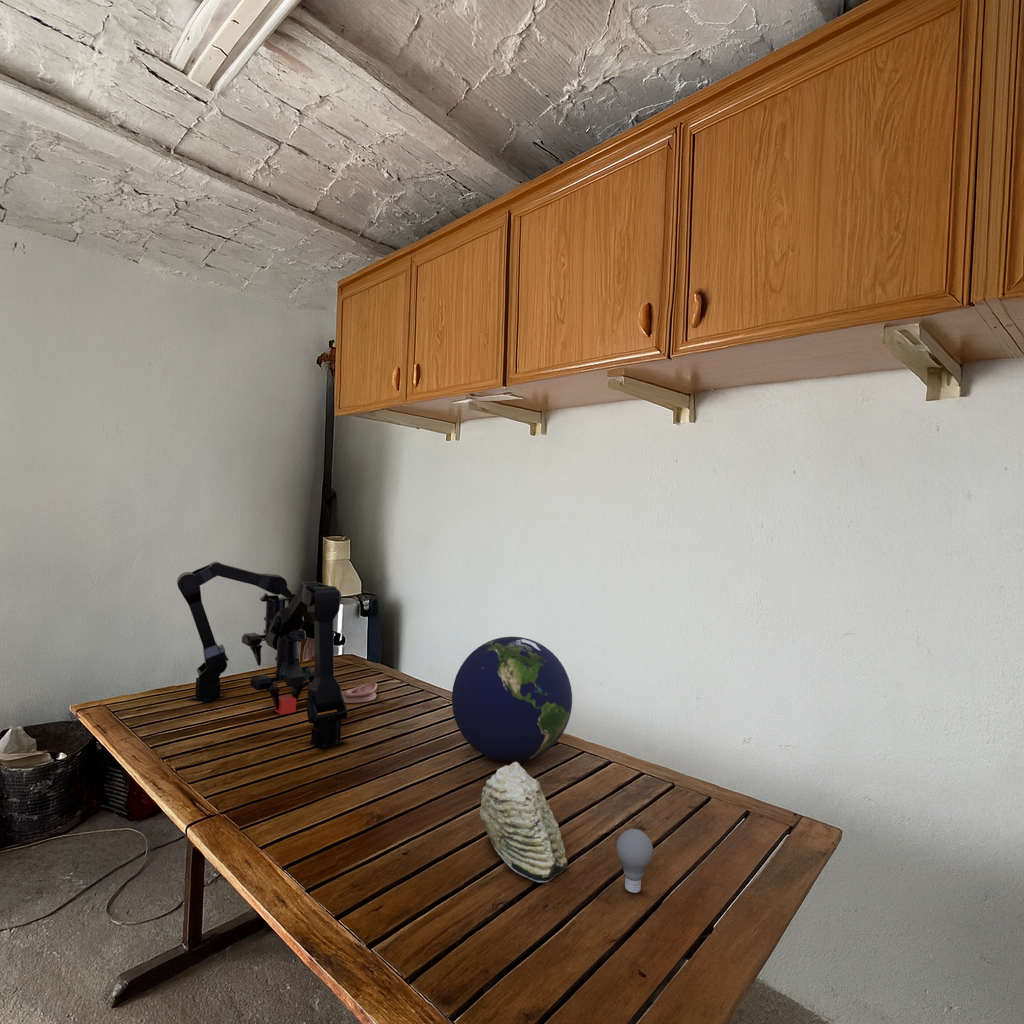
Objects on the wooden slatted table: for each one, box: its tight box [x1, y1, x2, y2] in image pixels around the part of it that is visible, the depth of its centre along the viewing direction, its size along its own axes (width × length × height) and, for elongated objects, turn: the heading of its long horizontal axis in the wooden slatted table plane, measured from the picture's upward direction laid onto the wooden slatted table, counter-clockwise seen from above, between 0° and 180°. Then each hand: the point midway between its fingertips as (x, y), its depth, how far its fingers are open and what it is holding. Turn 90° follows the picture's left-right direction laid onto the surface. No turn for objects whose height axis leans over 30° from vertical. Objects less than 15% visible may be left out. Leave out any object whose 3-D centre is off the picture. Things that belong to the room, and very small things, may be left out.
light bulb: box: [615, 828, 654, 894], centre depth 106 cm, size 6×6×10 cm
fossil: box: [479, 762, 569, 883], centre depth 114 cm, size 9×18×15 cm, turn 46°
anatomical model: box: [341, 682, 378, 704], centre depth 199 cm, size 13×4×12 cm
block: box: [274, 694, 297, 716], centre depth 184 cm, size 4×4×4 cm
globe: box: [451, 636, 573, 763], centre depth 158 cm, size 30×30×30 cm
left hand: (273, 663), depth 202 cm, fingers open, 9 cm apart
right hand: (285, 708), depth 184 cm, fingers closed on block, 4 cm apart
